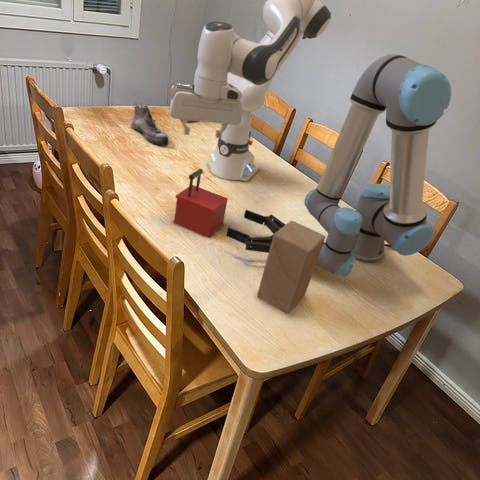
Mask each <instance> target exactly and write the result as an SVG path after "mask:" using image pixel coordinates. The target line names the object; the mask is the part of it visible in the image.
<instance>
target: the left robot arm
mask: <svg viewBox="0 0 480 480" xmlns="http://www.w3.org/2000/svg"><path fill="white" fill-rule="evenodd" d="M262 8H263V10H262V18H263V22H264V25H265V27H266V29H267V31H266V33H265V35H263V37H262V38H261V40H260V41H259V42H255V41H251V40H249V39H246V38H243V37H240V35H238V34H237V33H236V32H235V31H234V26H233V25H232V24H230V23H229V22H224V21H217V20H215V21H209V22H207V23H205V25H203V28H202V31H201V33H200V38H199V41H198V42H199V43H198V47H197V48H198V49H197V67H196V69H195V72H194V79H193V84H188V83H187V84H184V83H180V82H179V83H176V84H173V85H172V86H171V88H170V93H169V96H170V98H171V99H170V105H169V109H168V112H169V115H170V117H171V118H172V119H177V120H180V123H181V124H182V126H183V135H186V136H189V135H190V132H191V128H190V127H189V126H187V123H188V121H187V120H194V121H193V122H202V123H203V122H204V123H214V124H220V125H221V127H220V128H219V129H216V130H215V139H216V138H217V145H216V146H215V147H214V149H213V153H211V154H210V155H211V160H209V161H208V164H207V165H208V166H209V170H210V172H211V173H212V174H213V175H215V176H216V177H218V178H220V179H225V180H229V181H242V182H247V181H249V179H251V177H253V176H254V175H255V174H256V173H257V172H258V171H259V166H257V165H255V164H254V163H255V155H254V154H253V153H252V152H251V151H250V146H252V145H253V143H254V141H253V140H251V139H249V138H250V137H251V134H252V132H251V128H252V124H253V121H252V112H253V113H254V112H256V111H258V110H259V109H261V107H263V105H264V103H265V100H266V95H267V92H268V90H269V87H270V85H271V84H272V81H273V79H274V77H275V76H276V74H277V72H278V71H279V70H280V68H281V67H282V66H283V64H284V63H285V62H286V60H288V58H289V56H290V55H291V54H292V52H293V51H294V50H295V48H296V47H297V45H298V44H299V42H300V41H301V39H302V40H306V39H309V40H311V39H316V38H318V37H319V36H321V35H322V34H323V33H324V32H325V31H326V30H327V28H328V27H329V24H330V21H331V19H332V12H331V11H330V9H329V8H328V7H327V6H326V5H324V4H323V3H322V2H321V0H266V1H265V3H264V4H263V7H262Z"/></svg>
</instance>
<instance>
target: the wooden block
mask: <svg viewBox="0 0 480 480" xmlns="http://www.w3.org/2000/svg"><path fill="white" fill-rule="evenodd" d="M285 224H286V225H285V226H284V227H282V228H281V229H280V230H279V231H277V232H276V233H275V234H274V236H273V240H272V243H271V247H270V250H269V253H267V258H266V262H265V265H264V269H263V271H262V276H261V280H260V283H259V286H258V290H257V294H256V296H257V298H259V299H261V300H263V301H265V302H267V303H268V304H270V305H272V306H274V307H275V308H277V309H279V310H282V311H283V312H285V313H286V314H290V313H291V312H293V310H294V309H295V308H296V307H297V306H298V304H299V303H300V302H301V301H302V300H303V298H304V297H305V296H306V293H307V291H308V288H309V286H310V285H309V284H310V283H311V282H310V281H311V279H312V276H313V274H314V271H315V268H316V267H315V265H316V262H317V260H318V257H319V254H320V251H321V248H322V245H323V243H324V242H325V241H326V235H325V234H322V233H320V232H317V231H315V230H313V229H312V228H309V227H307V226H305V225H303V224H302V223H301V224H300V223H299V222H296V221H294V220H290V221H289V222H287V223H285Z"/></svg>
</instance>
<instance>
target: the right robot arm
mask: <svg viewBox="0 0 480 480" xmlns="http://www.w3.org/2000/svg"><path fill="white" fill-rule="evenodd" d="M451 97H452V87H451V83H450V81H449V79H448V77H447V76H446V75H445V74H444V73H443V72H441V71H439V70H438V69H436V68H435V67H434V66H431V65H427V64H423V63H420V62H418V61H416V60H414V59H410V58H408V57H407V56H405V55H402V54H396V53H395V54H394V53H393V54H391V53H390V54H386V55H384V56H381V57H379V58H378V59H376V60H374V61H373V62H372V63H371V64H370V65H369V66H368V67H367V68H366V69H365V71H364V72H363V73H362V74H361V76H360V77H359V78H358V80H357V82H356V84H355V86H354V88H353V90H352V93H351V95H350V97H349V101H350V103H351V105H350V108H349V110H348V112H347V114H346V117H345V119H344V122H343V124H342V126H341V128H340V132H339V134H338V136H337V139H336V142H335V144H334V146H333V149H332V151H331V153H330V156H329V158H328V160H327V163H326V164H325V166H324V167H325V168H324V169H323V170H324V171H323V172H322V174H321V177H320V180H319V181H318V184H317V186H316V188H313V189H311V190H310V191H309V192H308V193H307V194H306V195H305V197H304V200H303V201H304V206H305V208H306V210H307V212H308V213H309V214H310V215H311V216H312V217H313V218H314V219H315V220H316V221H317V222H318V223H319V225H320V226H321V227H322V229H324V230H325V232H326V233H327V236H326V238H325V241H324V243H323V245H322V248H321V251H320V254H319V257H318V260H317V262H316V265H315V268H318V269H320V270H323V271H325V272H328V273H330V274H332V275H335V276H338V277H341V278H347V277H349V276H350V275H351V273H352V270H353V266H354V264H355V261H356V260H359V261H361V262H367V263H374V262H378V261H380V260H381V259H382V258H383V256H384V253H385V247H386V248H389V249H392V250H393V251H395V252H397V253H398V254H399V255H401V256H405V257H407V256H412V255H414V254H417V253H419V252H421V251H422V250H424V249H425V248H426V247H427V246H428V245H429V244H430V243H431V241H432V239H433V238H434V236H435V235H434V234H435V229H434V228H433V226H432V224H431V223H428V221H427V216H428V207H427V206H426V204H425V203H424V202H423V197H424V187H425V177H426V168H427V167H426V166H427V158H428V156H427V155H428V146H429V135H430V129H433V127H434V126H435V125H436V124H437V122H438V121H439V120H440V119H441V118H442V117H443V116H444V114H445V110H447V109H448V107H449V105H450V103H451ZM383 113H385V125H386V127H387V128H389V130H391V147H390V149H391V150H390V170H389V171H390V175H389V176H390V177H389V185H387V184H383V183H368V184H367V185H365V186H364V188H363V190H362V193H361V194H360V196H359V199H358V201H357V205H356V208H355V209H354V208H351V207H345V206H342V207H341V206H340V205H339V203H340V201H341V198H342V196H343V194H344V191H345V189H346V187H347V185H348V183H349V180H350V179H351V176H352V174H353V172H354V170H355V168H356V165H357V164H358V161H359V159H360V157H361V155H362V152H363V150H364V148H365V146H366V144H367V142H368V139H369V137H370V135H371V133H372V131H373V128H374V126H375V124H376V121H377V119H378V117H379V116H380V115H382V114H383ZM243 214H244V215H243V219H246V220H248V221H251V222H253V223H256V224H259V225H261V226H263V227H266V228H267V229H268V230H269V231H270V232H271V233H272V235H269V236H251V235H250V234H248V233H244V232H242V231H240V230H238V229H234V228H232V227H227V230H226V235H225V236H226V237H227V238H230V239H233V240H235V241H237V242H239V243H241V244H244V245H245V248H244V249H245V250H246V251H252V252H259V253H266V254H269V250H270V247H271V243H272V240H273V236H274V234H275V233H276V232H277V231H279V230H280V229H281V228H282V227H284V226H285V225H286V224H287V223H284V222H283V221H281V219H279V218H277V216H275V215H273V214H269V215H266V216H265V215H262V214H259V213H257V212H254V211H251V210H249V209H245V211H244V213H243ZM385 242H386V243H385Z"/></svg>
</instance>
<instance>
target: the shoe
mask: <svg viewBox="0 0 480 480" xmlns="http://www.w3.org/2000/svg"><path fill="white" fill-rule="evenodd" d="M152 114H155V111H150V108H149V107H148V105H147V104H143V103H141V104H137V103H135V106H134V109H133V113H132V116H131V123H130V125H131V127H132V129H134V130H136V131H138V132H139V133H142V134H143V135H144V138H145V139H146V140H147V141H148V142H149V143H152V144H154V145H157V146H163V147H164V146H167V145H169V137H168V135H167V134H166V133H165V132H164V131H163V130H161V129H160V128H158V126H157V124H156V119H153V116H152Z"/></svg>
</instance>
